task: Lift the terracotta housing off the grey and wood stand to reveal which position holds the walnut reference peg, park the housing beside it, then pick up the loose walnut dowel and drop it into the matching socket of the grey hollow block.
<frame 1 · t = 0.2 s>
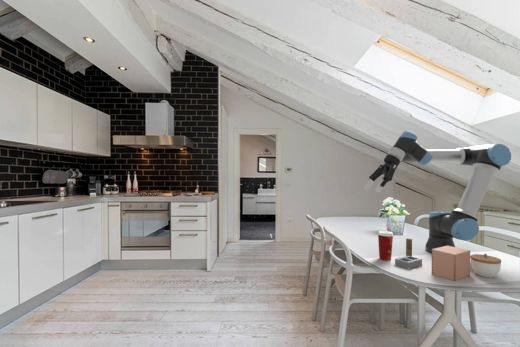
hand: (370, 190, 147), 36 cm above the table, tool tilted 35°, fingers open, 13 cm apart
housing: (450, 274, 125), on the table
pin: (408, 257, 150), on the table
grey hollow block: (408, 265, 138), on the table
grey and wood stand: (450, 274, 125), on the table
lidded jar: (485, 275, 125), on the table
paper cup: (385, 259, 148), on the table
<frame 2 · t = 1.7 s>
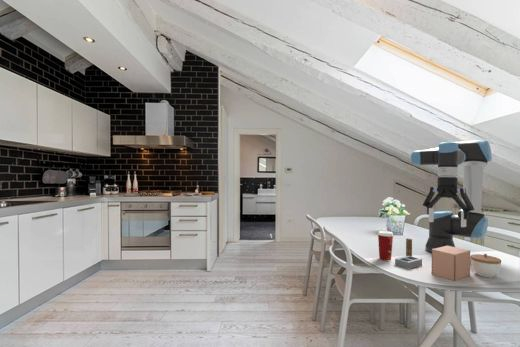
hand: (446, 224, 126), 22 cm above the table, tool pointing down, fingers open, 13 cm apart
nothing on the table moved.
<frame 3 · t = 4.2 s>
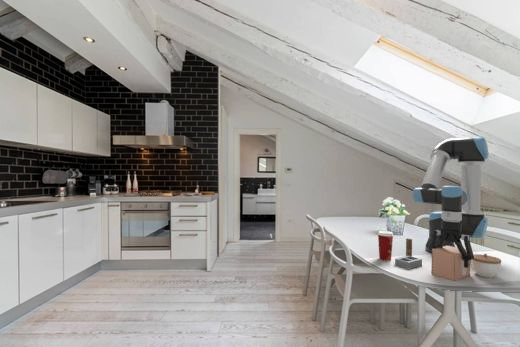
hand: (450, 270, 125), 2 cm above the table, tool pointing down, fingers closed on housing, 9 cm apart
housing: (450, 274, 125), on the table, touching gripper
everything else where it was.
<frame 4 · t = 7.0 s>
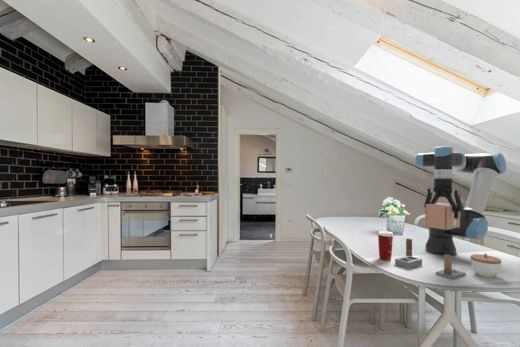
hand: (442, 223, 139), 20 cm above the table, tool pointing down, fingers closed on housing, 9 cm apart
housing: (442, 226, 139), point 19 cm above the table, touching gripper
everything else where it was.
when the fingers open (3 cm above the table, at t = 10.1 s): housing drops 1 cm, on the table.
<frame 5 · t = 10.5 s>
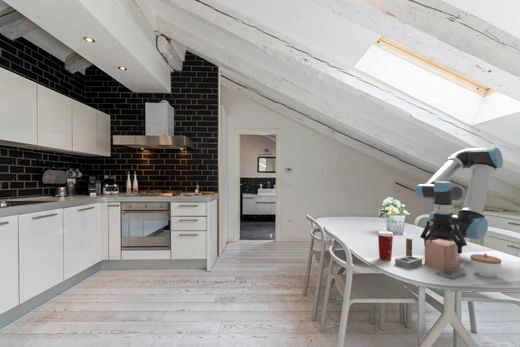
hand: (442, 256, 139), 4 cm above the table, tool pointing down, fingers open, 13 cm apart
housing: (441, 264, 139), on the table
everything else where it was.
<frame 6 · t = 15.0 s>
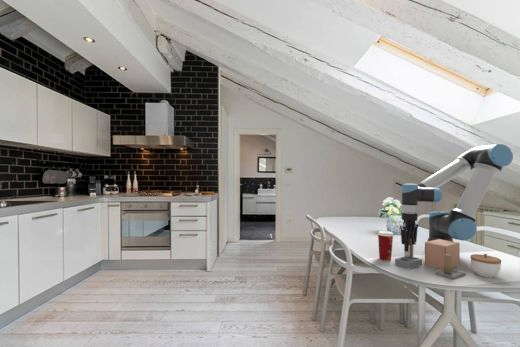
hand: (408, 256, 150), 1 cm above the table, tool pointing down, fingers closed on pin, 2 cm apart
pin: (408, 257, 150), on the table, touching gripper
everything else where it was.
when the fingers open (4 cm above the table, at t = 19.5 s): pin drops 2 cm, resting in grey hollow block.
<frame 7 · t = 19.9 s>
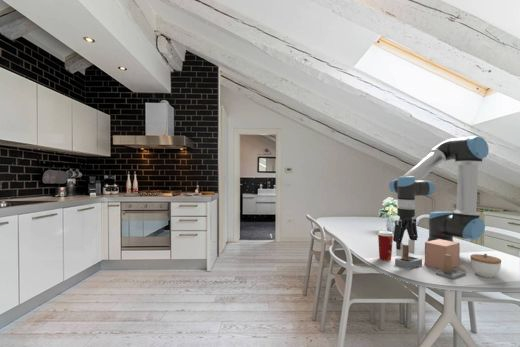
hand: (405, 254, 136), 6 cm above the table, tool pointing down, fingers open, 9 cm apart
pin: (405, 265, 137), resting in grey hollow block
everything else where it was.
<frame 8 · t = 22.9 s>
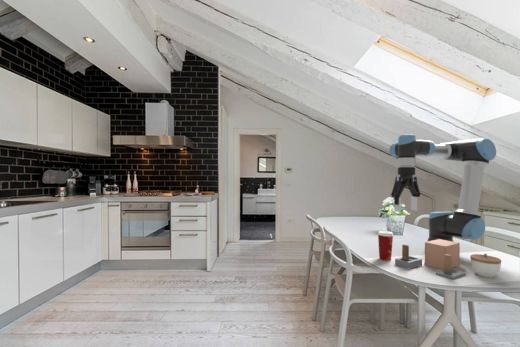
hand: (405, 210, 136), 27 cm above the table, tool pointing down, fingers open, 13 cm apart
nothing on the table moved.
at the end: pin 0.2 cm from the target spot on the grey hollow block, point 0.0 cm above the grey hollow block's base; pin tilted 0°; housing moved 14.2 cm from its start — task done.
